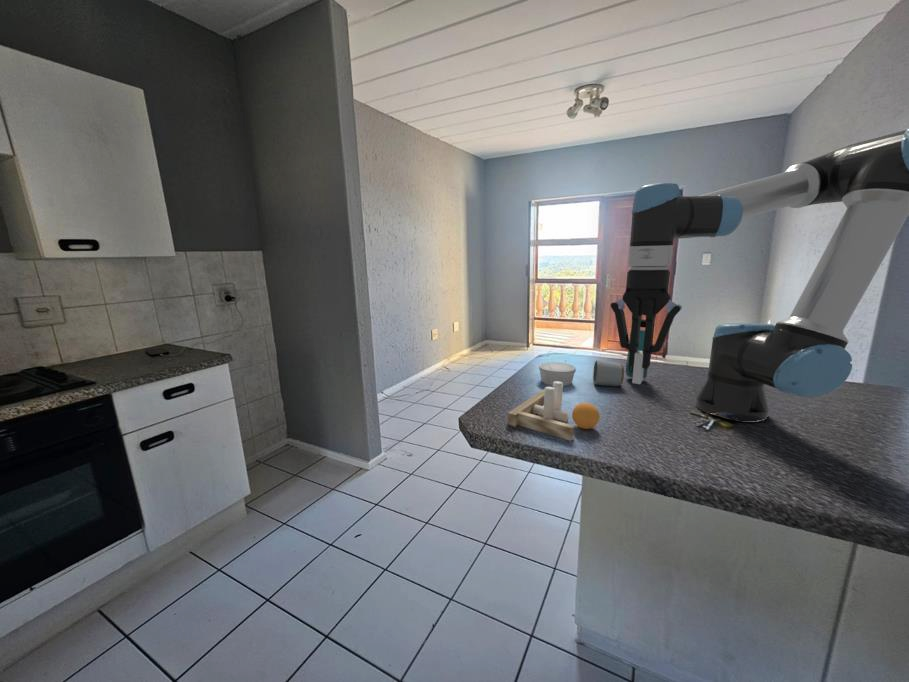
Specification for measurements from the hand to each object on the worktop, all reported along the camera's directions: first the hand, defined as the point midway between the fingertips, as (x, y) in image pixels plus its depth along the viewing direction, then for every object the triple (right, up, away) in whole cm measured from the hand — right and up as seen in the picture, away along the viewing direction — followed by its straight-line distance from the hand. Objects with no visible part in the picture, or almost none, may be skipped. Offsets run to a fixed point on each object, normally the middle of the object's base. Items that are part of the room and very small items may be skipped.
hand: (637, 381), depth 78 cm
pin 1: (-16, -11, +12) cm, 23 cm away
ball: (-8, -9, +8) cm, 14 cm away
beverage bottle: (+20, -4, +42) cm, 47 cm away
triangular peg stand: (-14, -11, +13) cm, 22 cm away
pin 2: (-13, -10, +15) cm, 23 cm away
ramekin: (-6, -5, +40) cm, 41 cm away
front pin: (-11, -10, +11) cm, 19 cm away
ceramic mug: (+9, -5, +39) cm, 40 cm away
